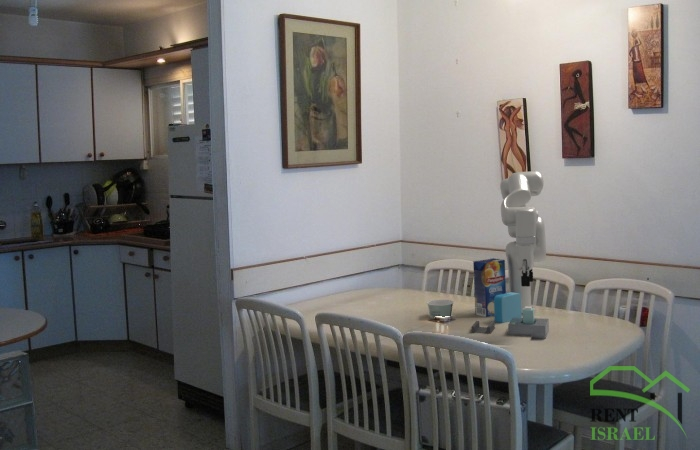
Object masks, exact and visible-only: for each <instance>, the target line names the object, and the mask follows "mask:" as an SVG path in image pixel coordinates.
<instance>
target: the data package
mask: <svg viewBox="0 0 700 450" xmlns="http://www.w3.org/2000/svg"><path fill="white" fill-rule="evenodd" d="M494 314H495V316H494V322H495V323H500V324H505V323H510V321H511V320H512V318H523V314H521V295H520V294H519V293H513V292H509V291H508V292H506V293H505V294H501V295H496V296H495V297H494Z"/></svg>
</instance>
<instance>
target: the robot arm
mask: <svg viewBox="0 0 700 450" xmlns="http://www.w3.org/2000/svg"><path fill="white" fill-rule="evenodd" d="M543 188H544V177H543V175H542V173H541V172H539V171H536V170H534V171H533V170H532V171H516V172H514V173H511V174H510V175H509V177H507V178H504V179H503V180H501V181H500V194H501V197H502V199H503V200H502V202H501V205H500V215H501V216H500V218H501V221H502V224H503V225H505V226H507V232H508V235H509V237H511V238H513V239H515V241H511V242H509V243H507V244H506V246H505V255H506V256H505V257H506V263H507V272H508V273H507V274H508V277H507V278H508V293H509V292H513V293H519V294H520V295H521V315H523V311H522V310H523V308H525V306H526V307H532V308H534V312H535V310H536V308H535V307H534V306H532V293H531V292H532V291H531V289H532V288H531V283H532V282H534V272H533V268H534V263H539V262H541V263H542V262H543V261H545V260H546V258H547V247H546V246H547V244H546V229H545V222H544V220H543V218H542V217H541V216H539V211H538V210H537V208H535V207H534V206H527V204H528V203H529V202H530V200H531V198H532V197H536V196H539V195H540V194H541V193H542V191H543Z"/></svg>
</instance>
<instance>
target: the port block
mask: <svg viewBox="0 0 700 450" xmlns="http://www.w3.org/2000/svg"><path fill="white" fill-rule="evenodd" d="M549 323H550V322H549V318H537V317H536V318H535V317H534V323H523V317H522V318H512V320H511V321H509V322H508V325H507V326H508V327H507V328H508V335H509V336H525V337H526V336H527V337H528V336H530V337H531V339H545V340H546V338H547V336H548V334H549V332H550V325H549Z"/></svg>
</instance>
